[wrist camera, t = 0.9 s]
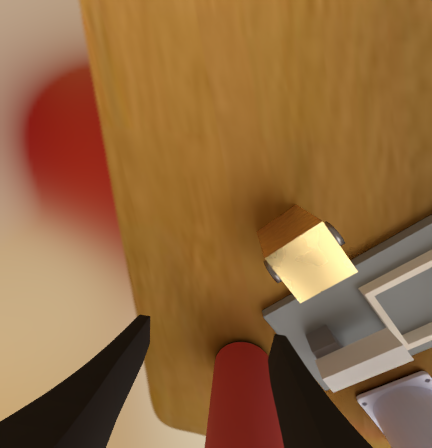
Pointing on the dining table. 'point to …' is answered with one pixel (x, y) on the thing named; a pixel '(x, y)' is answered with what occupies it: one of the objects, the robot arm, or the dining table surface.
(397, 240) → the shaft board
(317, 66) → the dining table surface
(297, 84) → the dining table surface
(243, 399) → the beer can
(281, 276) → the block
